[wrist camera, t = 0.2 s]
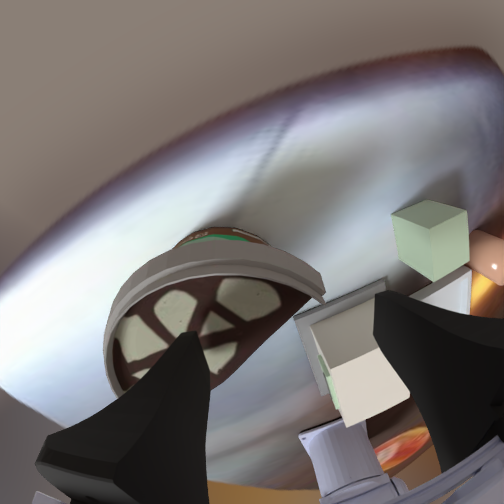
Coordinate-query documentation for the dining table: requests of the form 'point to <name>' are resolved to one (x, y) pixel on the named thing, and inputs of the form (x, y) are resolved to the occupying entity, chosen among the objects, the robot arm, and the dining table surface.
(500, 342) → the robot arm
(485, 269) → the terracotta part
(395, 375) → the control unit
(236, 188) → the dining table surface
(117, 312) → the food container
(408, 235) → the green part
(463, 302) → the tray
